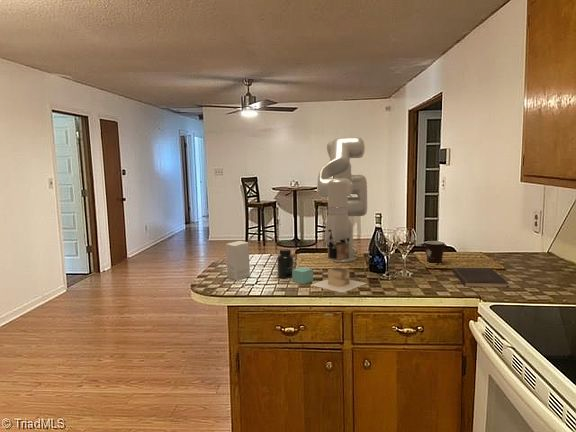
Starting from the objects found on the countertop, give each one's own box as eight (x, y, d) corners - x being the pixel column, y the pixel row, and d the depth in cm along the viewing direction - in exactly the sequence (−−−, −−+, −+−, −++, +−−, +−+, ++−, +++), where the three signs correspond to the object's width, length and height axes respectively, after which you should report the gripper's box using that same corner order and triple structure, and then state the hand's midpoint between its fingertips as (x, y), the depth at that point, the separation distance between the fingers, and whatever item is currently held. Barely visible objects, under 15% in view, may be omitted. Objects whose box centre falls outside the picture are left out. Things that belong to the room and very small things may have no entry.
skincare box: (241, 274, 197) (240, 240, 195) (251, 276, 193) (249, 242, 191) (226, 278, 191) (225, 243, 189) (236, 280, 187) (234, 245, 185)
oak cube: (337, 281, 178) (337, 266, 178) (349, 283, 174) (349, 269, 174) (328, 284, 174) (327, 269, 174) (340, 287, 170) (339, 272, 169)
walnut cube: (337, 256, 177) (337, 241, 176) (349, 258, 173) (349, 243, 172) (327, 258, 173) (327, 243, 172) (339, 260, 169) (339, 245, 168)
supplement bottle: (291, 279, 187) (291, 251, 186) (276, 278, 189) (275, 251, 187) (294, 274, 194) (294, 248, 192) (279, 274, 195) (279, 248, 194)
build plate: (335, 278, 186) (335, 276, 185) (367, 285, 174) (367, 283, 174) (310, 287, 174) (310, 284, 174) (342, 295, 163) (342, 292, 163)
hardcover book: (490, 273, 190) (491, 268, 190) (508, 288, 167) (508, 282, 167) (452, 272, 193) (452, 267, 192) (464, 287, 170) (464, 282, 170)
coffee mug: (446, 265, 204) (447, 244, 202) (428, 265, 204) (428, 244, 202) (438, 259, 215) (438, 239, 214) (420, 259, 215) (421, 239, 214)
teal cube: (302, 280, 184) (302, 267, 183) (313, 283, 180) (312, 269, 179) (292, 284, 180) (292, 269, 179) (303, 286, 176) (302, 272, 175)
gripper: (343, 208, 179) (344, 252, 181) (315, 212, 167) (316, 259, 169) (358, 209, 174) (359, 254, 176) (331, 214, 162) (331, 261, 164)
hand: (338, 256), depth 173 cm, fingers closed on walnut cube, 6 cm apart
